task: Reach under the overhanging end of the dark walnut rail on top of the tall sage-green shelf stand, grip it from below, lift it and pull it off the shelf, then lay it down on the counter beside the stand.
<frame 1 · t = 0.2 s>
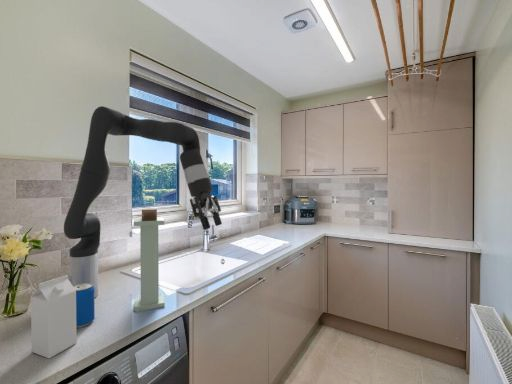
hand: (213, 226, 84), 31 cm above the worktop, tool tilted 20°, fingers open, 8 cm apart
walnut rail: (149, 218, 99), point 32 cm above the worktop, touching shelf stand
shelf stand: (149, 304, 96), on the worktop
beverage can: (82, 323, 83), on the worktop
milk carton: (54, 348, 70), on the worktop
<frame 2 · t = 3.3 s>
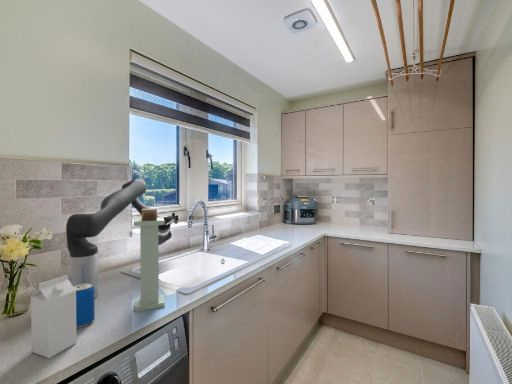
hand: (163, 214, 121), 31 cm above the worktop, tool pointing upward, fingers open, 8 cm apart
nothing on the worktop moved.
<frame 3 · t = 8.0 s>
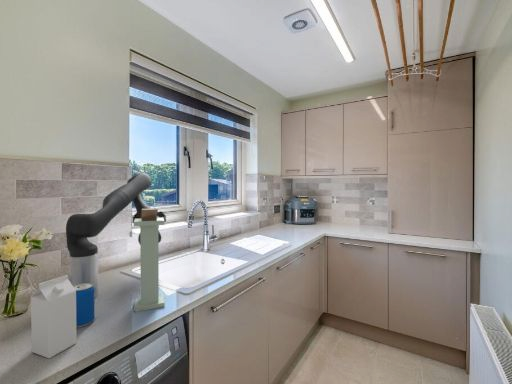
hand: (149, 210, 101), 35 cm above the worktop, tool pointing upward, fingers closed on walnut rail, 3 cm apart
walnut rail: (149, 218, 99), point 32 cm above the worktop, touching gripper, shelf stand
everything else where it was.
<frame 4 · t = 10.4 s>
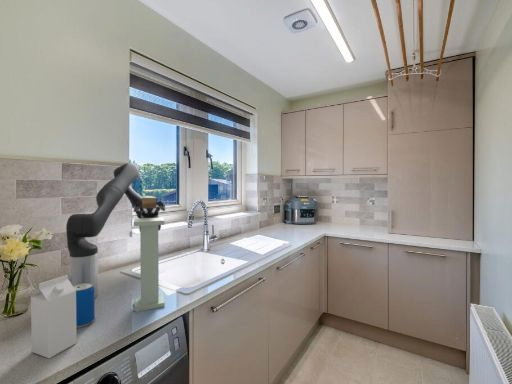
hand: (149, 199, 109), 39 cm above the worktop, tool pointing upward, fingers closed on walnut rail, 3 cm apart
walnut rail: (149, 206, 107), point 36 cm above the worktop, touching gripper
everything else where it was.
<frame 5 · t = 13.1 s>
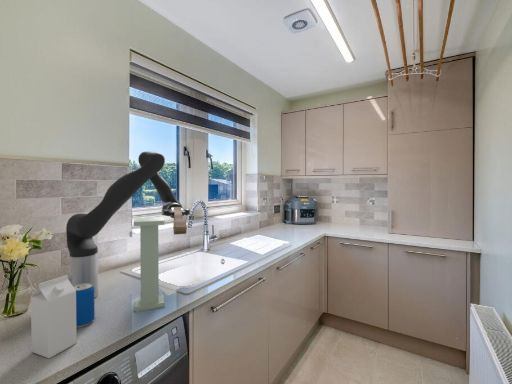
hand: (178, 213, 116), 32 cm above the worktop, tool horizontal, fingers closed on walnut rail, 3 cm apart
walnut rail: (178, 222, 115), point 28 cm above the worktop, tilted 30°, touching gripper
everything else where it was.
when the fingers open (8 cm above the worktop, at t = 17.3 s): walnut rail drops 4 cm, on the worktop.
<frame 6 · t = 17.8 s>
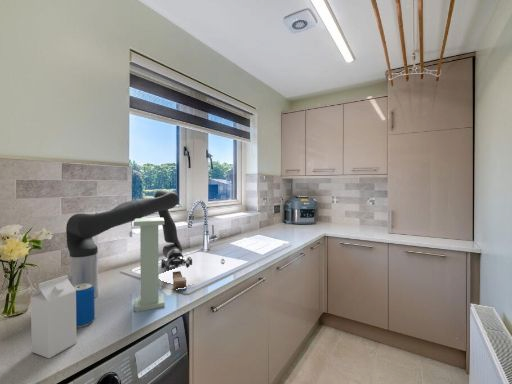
hand: (178, 266, 117), 8 cm above the worktop, tool horizontal, fingers open, 8 cm apart
walnut rail: (178, 283, 117), on the worktop
everything else where it was.
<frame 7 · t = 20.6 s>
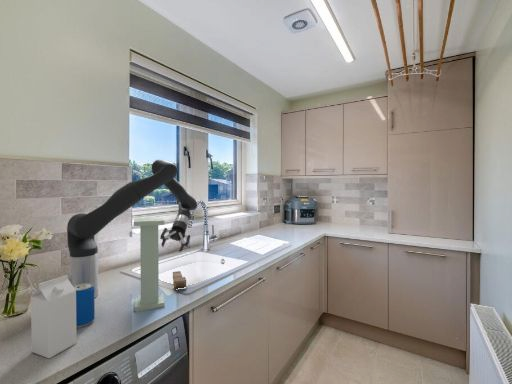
hand: (171, 248, 126), 14 cm above the worktop, tool tilted 55°, fingers open, 8 cm apart
nothing on the worktop moved.
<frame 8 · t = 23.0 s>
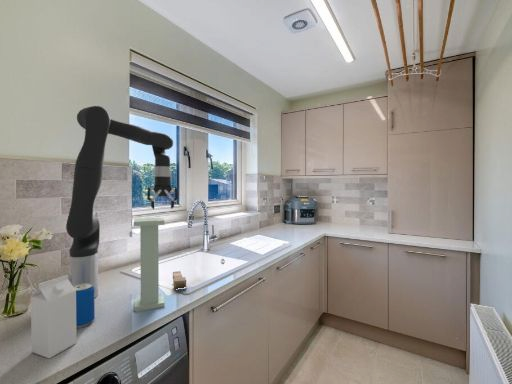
hand: (162, 208, 127), 33 cm above the worktop, tool pointing down, fingers open, 8 cm apart
nothing on the worktop moved.
at the end: walnut rail on the worktop; walnut rail touching worktop; the gripper is holding nothing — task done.
